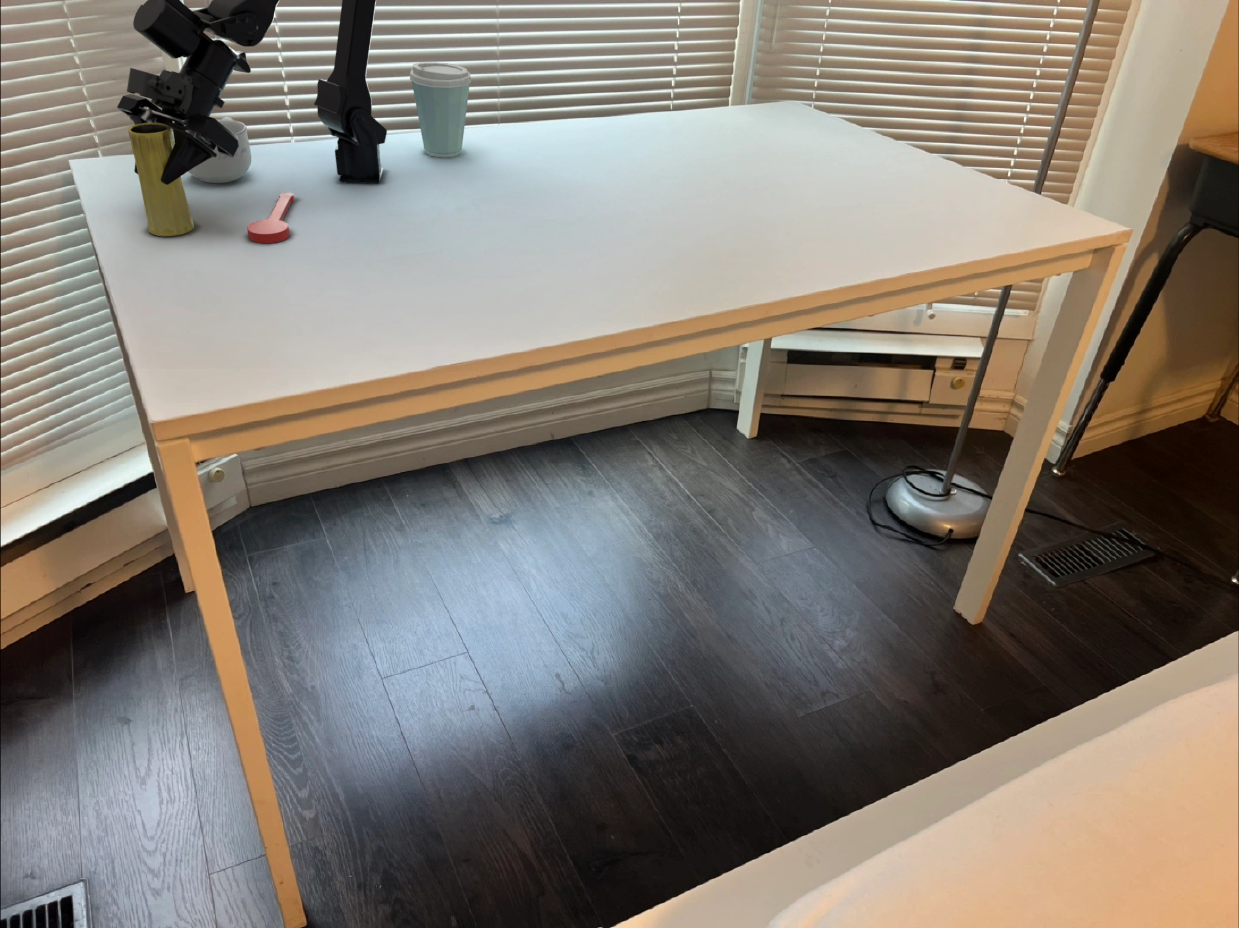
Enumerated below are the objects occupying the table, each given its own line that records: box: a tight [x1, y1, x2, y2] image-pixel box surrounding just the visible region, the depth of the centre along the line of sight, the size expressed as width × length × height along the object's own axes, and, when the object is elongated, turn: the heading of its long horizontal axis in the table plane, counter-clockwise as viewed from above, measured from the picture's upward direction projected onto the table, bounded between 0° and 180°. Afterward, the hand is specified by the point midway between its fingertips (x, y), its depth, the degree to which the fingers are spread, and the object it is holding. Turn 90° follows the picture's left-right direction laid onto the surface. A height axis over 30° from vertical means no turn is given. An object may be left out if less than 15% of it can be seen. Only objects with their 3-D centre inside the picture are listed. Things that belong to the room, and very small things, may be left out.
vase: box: [127, 123, 195, 238], centre depth 133 cm, size 6×6×14 cm
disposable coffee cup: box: [409, 61, 472, 158], centre depth 168 cm, size 11×11×15 cm
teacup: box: [187, 117, 252, 184], centre depth 154 cm, size 14×11×8 cm
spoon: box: [246, 191, 296, 244], centre depth 142 cm, size 6×18×1 cm, turn 6°
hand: (150, 178), depth 132 cm, fingers closed on vase, 5 cm apart
